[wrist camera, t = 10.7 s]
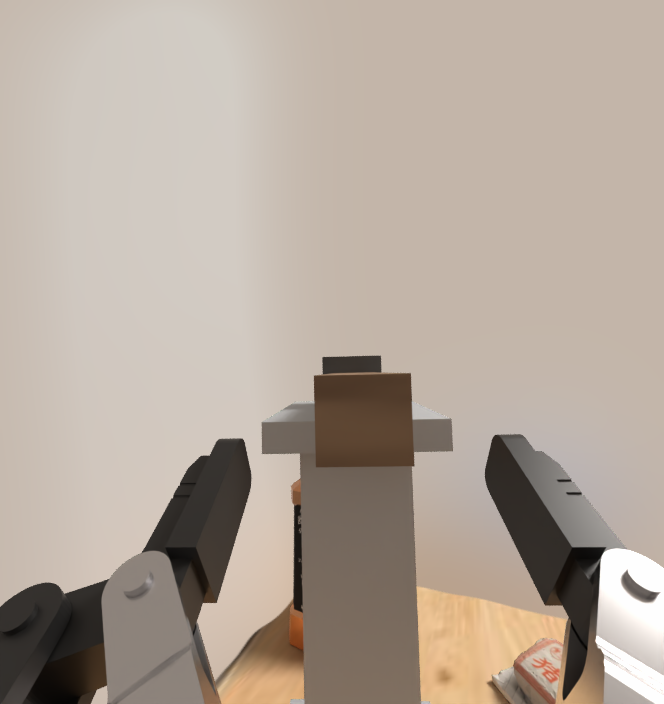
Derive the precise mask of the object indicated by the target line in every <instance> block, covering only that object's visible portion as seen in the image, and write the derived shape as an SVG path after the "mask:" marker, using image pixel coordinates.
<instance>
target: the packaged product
mask: <svg viewBox="0 0 664 704" xmlns="http://www.w3.org/2000/svg"><path fill="white" fill-rule="evenodd" d="M562 652H563V644H562V643H560V642H559V641H557V640H556V639H548V638H542V639H540V640H538V641H537V642H536V643H535V645H533V646H532V647H530V648H529V649H528V650H527V651H524V653H521V654H520V655H519V656H518V658H517V659H516V660H515V661H514V665H513V667H511V668H508V669H505V670H502V671H500V672H499V674H498V675H492V679H493V683H494V684H495V686H496V687H497V688H498V689H499V691H500V692H501V693H502V694H503V696H504V697H505V698H506V699H507V700H508V701H509V702H510V703H511V704H555V703H556V697H557V690H558V682H559V674H560V667H561V659H562Z"/></svg>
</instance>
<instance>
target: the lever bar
mask: <svg viewBox="0 0 664 704" xmlns="http://www.w3.org/2000/svg"><path fill="white" fill-rule="evenodd" d="M314 400H315V401H314V403H315V451H316V467H394V466H414V444H413V419H412V394H411V374H410V373H381V356H352V357H351V356H350V357H323V375H316V376H314Z"/></svg>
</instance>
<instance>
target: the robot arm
mask: <svg viewBox="0 0 664 704" xmlns="http://www.w3.org/2000/svg"><path fill="white" fill-rule="evenodd" d="M485 480H486V485H487V488H488V490H489V492H490V495H491V497H492V499H493V501H494V502H495V505H496V507H497V509H498V511H499V513H500V515H501V517H502V519H503V521H504V523H505V525H506V527H507V529H508V531H509V533H510V535H511V537H512V539H513V541H514V543H515V545H516V547H517V549H518V552H519V554H520V556H521V558H522V560H523V562H524V564H525V565H526V568H527V570H528V572H529V574H530V576H531V578H532V580H533V582H534V584H535V586H536V588H537V590H538V592H539V594H540V596H541V598H542V600H543V602H544V604H545V605H563V607H564V609H565V611H566V613H567V615H568V616H569V618H568V620H567V623H566V629H565V636H564V644H563V652H562V659H561V667H560V674H559V682H558V690H557V697H556V703H555V704H664V569H663V568H662V567H660V566H659V565H657V564H656V563H655V562H653V561H651V560H650V559H648V558H646V557H644V556H642V555H640V554H637V553H635V552H632V551H629V550H628V549H627V548H626V547H625V546H624V545H623V543H622V542H621V541H620V540H619V538H617V536H616V535H615V533H614V532H613V531H612V530H611V528H610V527H609V526H608V525H607V523H606V522H605V521H604V520H603V518H602V517H601V516H600V515H599V514H598V512H597V511H596V510H595V509H594V507H593V506H592V505H591V503H590V502H589V501H588V500H587V499H586V497H585V496H584V495H582V493H581V491H580V490H579V488H578V487H577V486H576V485H575V483H574V482H572V481H571V478H570V477H569V476H568V475H567V473H566V472H565V471H564V470H563V468H562V467H561V466H560V465H559V464H558V463H557V462H556V461H554V460H553V459H552V458H550V457H549V456H547V455H546V454H545V453H544V452H542V451H535V450H534V449H533V448H532V446H531V445H530V444H529V442H528V441H527V440H526V438H525V437H524V436H523V435H520V434H518V435H516V434H515V435H495V436H494V437H493V439H492V443H491V447H490V451H489V456H488V460H487V464H486V468H485ZM250 488H251V470H250V466H249V461H248V456H247V452H246V447H245V442H244V440H243V439H219V440H218V441H217V442H216V444H215V446H214V448H213V450H212V452H211V454H210V456H200V457H199V458H198V459H197V460H196V461H195V463H193V464H192V465H191V466H190V467H189V468H188V470H187V471H186V473H185V475H184V477H183V479H182V481H181V482H180V486H178V488H177V490H176V491H175V493H174V496H173V499H171V501H170V503H169V504H168V506H167V508H166V510H165V512H164V514H163V515H162V517H161V519H160V521H159V523H158V525H157V527H156V529H155V530H154V532H153V534H152V536H151V537H150V539H149V541H148V543H147V545H146V547H145V548H144V550H143V551H142V553H141V554H138V555H136V556H134V557H132V558H131V559H129V560H128V561H126V562H125V563H124V564H122V565H121V566H120V567H119V568H118V569H117V570H116V571H115V572H114V573H113V575H112V576H111V578H110V579H108V580H105V581H102V582H99V583H96V584H93V585H90V586H87V587H84V588H81V589H78V590H75V591H72V592H69V593H66V594H64V593H63V591H62V590H61V589H60V587H59V586H57V585H56V584H53V583H41V584H37V585H34V586H31V587H29V588H27V589H25V590H23V591H21V592H20V593H18V594H17V595H15V596H13V597H12V598H11V599H9V600H8V601H7V602H5V603H4V604H3V605H2V606H1V607H0V704H91V702H92V699H93V697H94V695H95V693H96V690H97V689H99V688H102V687H104V686H107V689H108V703H107V704H221V701H220V698H219V694H218V691H217V688H216V684H215V681H214V678H213V674H212V671H211V667H210V664H209V661H208V657H207V654H206V651H205V647H204V644H203V640H202V637H201V633H200V630H199V627H198V623H197V619H198V615H199V613H200V610H201V606H202V604H203V603H217V600H218V596H219V593H220V590H221V586H222V583H223V580H224V576H225V573H226V569H227V566H228V563H229V560H230V556H231V553H232V549H233V546H234V543H235V539H236V536H237V533H238V529H239V526H240V523H241V519H242V516H243V513H244V509H245V506H246V502H247V499H248V495H249V492H250Z"/></svg>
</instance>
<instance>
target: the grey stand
mask: <svg viewBox="0 0 664 704" xmlns="http://www.w3.org/2000/svg"><path fill="white" fill-rule="evenodd" d="M412 419H413V444H414V452H429V451H430V452H432V451H434V452H435V451H436V452H437V451H453V445H452V444H453V443H452V424H451V423H452V422H451V418H448V417H446V416H444V415H442V414H439V413H437V412H435V411H433V410H430V409H428V408H426V407H424V406H422V405H419V404H417V403H415V402H413V401H412ZM289 453H290V454H292V453H300V475H301V531H302V588H303V645H304V699H291V701H290V704H430V702H429V701H421V693H420V667H419V641H418V615H417V589H416V566H415V565H416V563H415V541H414V539H415V538H414V511H413V485H412V466H394V467H316V451H315V403H314V402H294V403H293V404H291V405H290V406H288V407H286V408H285V409H283V410H281V411H280V412H278V413H276V414H275V415H273V416H271V417H270V418H268V419H266V420H265V421H263V422H262V454H289Z"/></svg>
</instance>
